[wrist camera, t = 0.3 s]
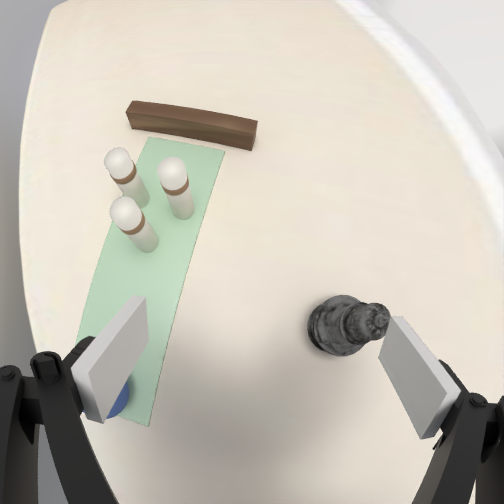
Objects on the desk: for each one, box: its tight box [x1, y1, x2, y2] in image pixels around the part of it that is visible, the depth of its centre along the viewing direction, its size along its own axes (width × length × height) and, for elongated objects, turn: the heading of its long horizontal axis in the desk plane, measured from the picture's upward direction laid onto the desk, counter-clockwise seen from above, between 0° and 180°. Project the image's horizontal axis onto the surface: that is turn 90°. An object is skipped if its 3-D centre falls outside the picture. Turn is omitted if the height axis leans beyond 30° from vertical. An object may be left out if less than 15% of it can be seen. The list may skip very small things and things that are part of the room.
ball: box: [83, 381, 129, 419], centre depth 25 cm, size 6×6×6 cm
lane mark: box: [75, 137, 225, 426], centre depth 31 cm, size 32×10×1 cm, turn 167°
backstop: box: [126, 101, 258, 151], centre depth 34 cm, size 2×16×4 cm, turn 76°
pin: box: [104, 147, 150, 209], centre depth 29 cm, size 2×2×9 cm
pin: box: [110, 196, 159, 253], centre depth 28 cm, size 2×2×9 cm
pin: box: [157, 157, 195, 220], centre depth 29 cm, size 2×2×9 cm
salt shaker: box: [308, 295, 391, 356], centre depth 25 cm, size 6×6×12 cm
